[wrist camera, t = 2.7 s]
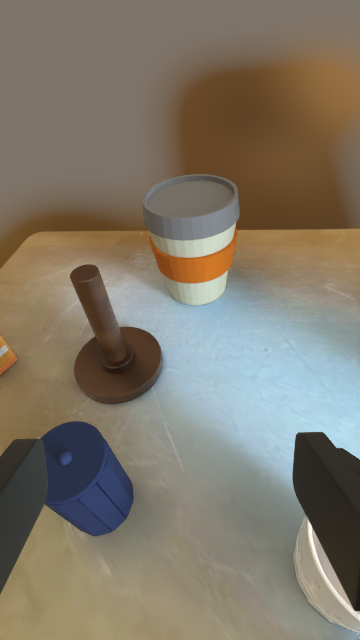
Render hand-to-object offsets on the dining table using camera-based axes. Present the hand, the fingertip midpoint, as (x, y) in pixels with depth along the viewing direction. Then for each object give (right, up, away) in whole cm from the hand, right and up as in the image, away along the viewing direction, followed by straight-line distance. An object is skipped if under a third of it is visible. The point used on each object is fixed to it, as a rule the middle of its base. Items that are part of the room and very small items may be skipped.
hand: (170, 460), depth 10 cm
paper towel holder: (-7, -1, +31) cm, 32 cm away
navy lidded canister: (-9, -11, +22) cm, 26 cm away
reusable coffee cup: (+3, +10, +41) cm, 42 cm away
